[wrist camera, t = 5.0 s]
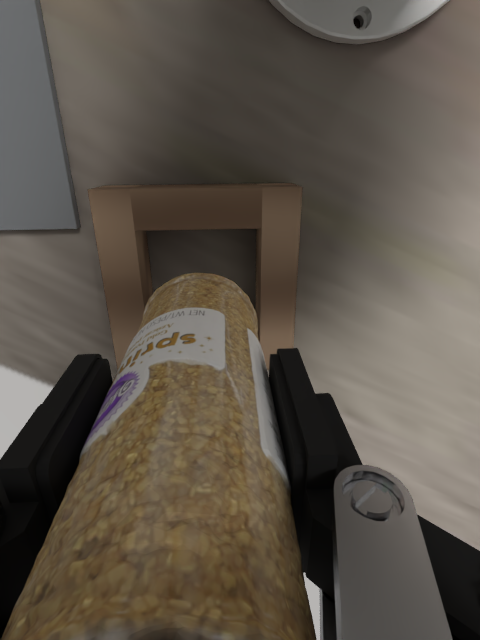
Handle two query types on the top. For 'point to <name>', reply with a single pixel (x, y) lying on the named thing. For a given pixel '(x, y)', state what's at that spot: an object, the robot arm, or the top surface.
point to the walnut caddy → (197, 214)
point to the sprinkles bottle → (177, 492)
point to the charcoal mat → (31, 127)
